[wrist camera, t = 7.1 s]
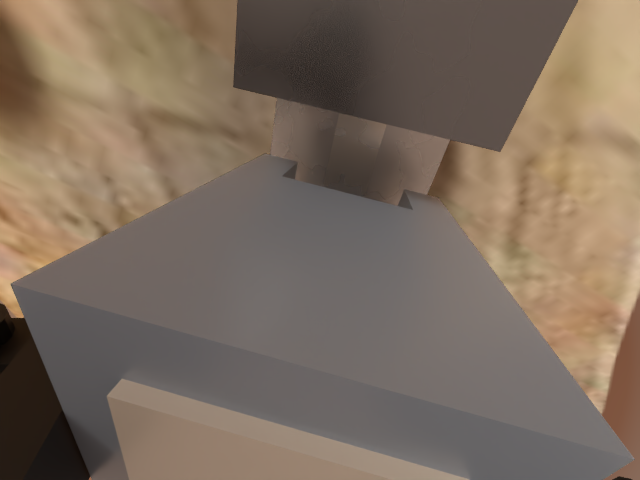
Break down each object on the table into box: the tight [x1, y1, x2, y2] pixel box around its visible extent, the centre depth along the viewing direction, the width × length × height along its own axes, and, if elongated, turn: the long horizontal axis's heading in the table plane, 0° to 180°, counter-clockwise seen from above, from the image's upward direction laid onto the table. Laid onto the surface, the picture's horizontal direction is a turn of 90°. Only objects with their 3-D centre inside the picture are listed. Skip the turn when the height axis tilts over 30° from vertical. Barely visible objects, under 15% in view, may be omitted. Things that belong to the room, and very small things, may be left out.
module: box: [11, 154, 634, 480], centre depth 9 cm, size 8×7×9 cm
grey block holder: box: [233, 0, 578, 206], centre depth 14 cm, size 30×10×10 cm, turn 168°
